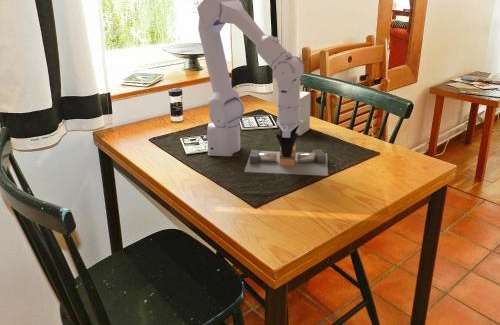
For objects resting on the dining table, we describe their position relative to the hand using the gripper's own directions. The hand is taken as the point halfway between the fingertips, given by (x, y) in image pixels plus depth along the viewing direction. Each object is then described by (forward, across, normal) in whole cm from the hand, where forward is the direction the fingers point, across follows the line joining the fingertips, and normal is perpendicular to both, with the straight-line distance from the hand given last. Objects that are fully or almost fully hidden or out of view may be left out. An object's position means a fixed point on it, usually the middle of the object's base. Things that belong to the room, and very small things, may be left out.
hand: (287, 152), depth 123 cm
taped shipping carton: (+3, 0, 0) cm, 3 cm away
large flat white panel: (+4, 0, 0) cm, 4 cm away
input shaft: (+4, 0, +6) cm, 8 cm away
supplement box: (+4, +27, -1) cm, 27 cm away
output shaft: (+4, +1, -6) cm, 8 cm away
